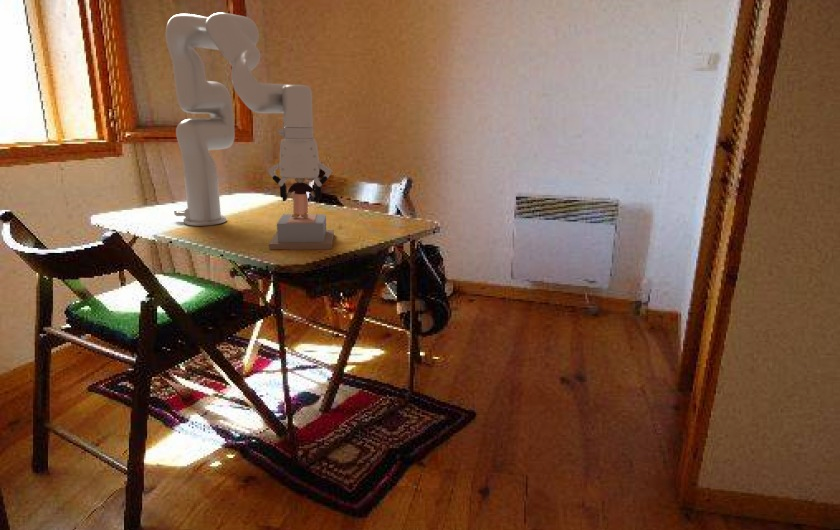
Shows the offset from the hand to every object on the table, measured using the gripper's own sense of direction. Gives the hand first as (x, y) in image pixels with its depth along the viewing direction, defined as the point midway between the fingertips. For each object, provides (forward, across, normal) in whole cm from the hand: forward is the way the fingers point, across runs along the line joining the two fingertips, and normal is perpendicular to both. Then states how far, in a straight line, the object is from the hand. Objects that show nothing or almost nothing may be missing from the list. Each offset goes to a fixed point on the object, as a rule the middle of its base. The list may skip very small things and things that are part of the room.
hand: (301, 200), depth 146 cm
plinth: (+12, 0, 0) cm, 12 cm away
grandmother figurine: (+5, 0, 0) cm, 5 cm away
